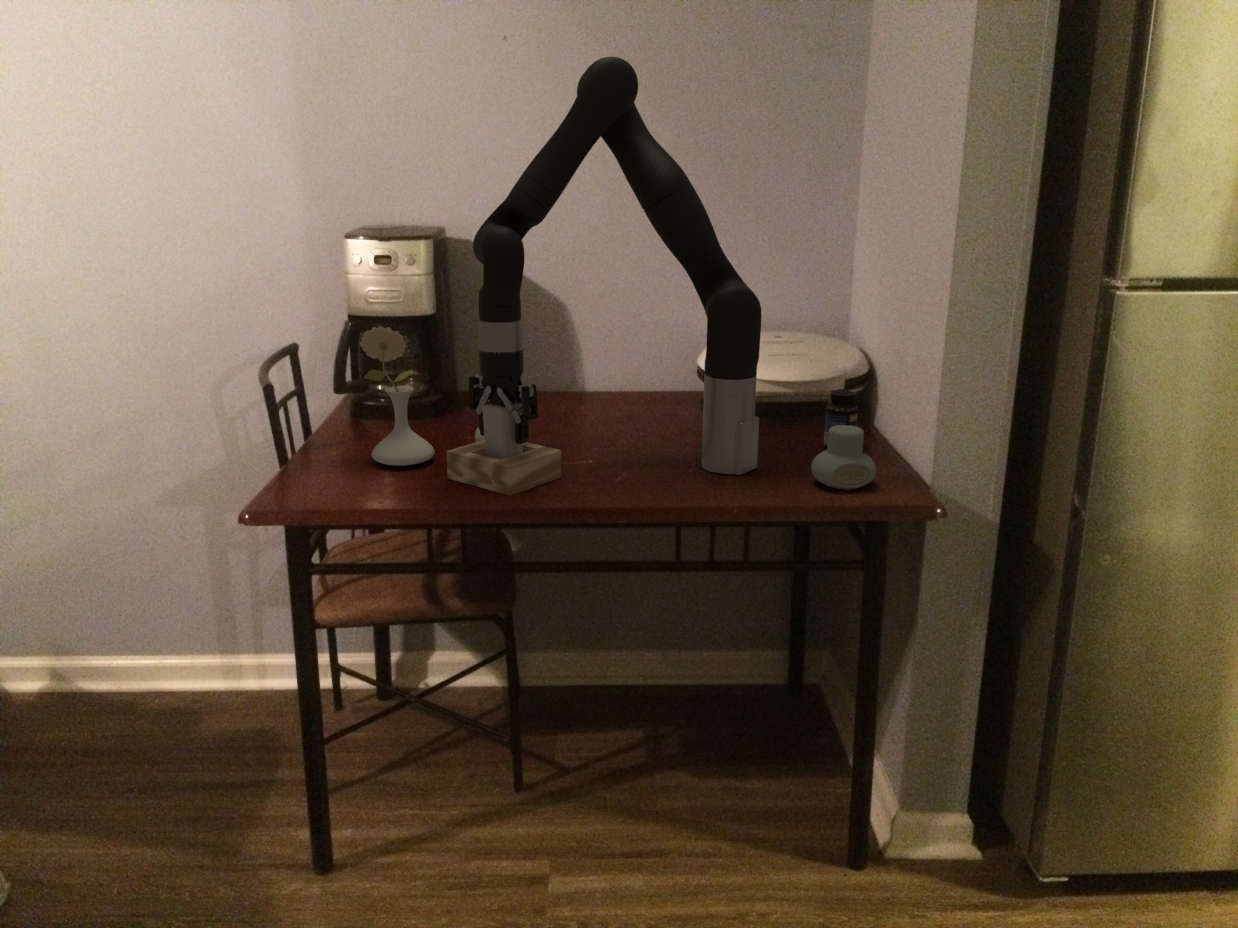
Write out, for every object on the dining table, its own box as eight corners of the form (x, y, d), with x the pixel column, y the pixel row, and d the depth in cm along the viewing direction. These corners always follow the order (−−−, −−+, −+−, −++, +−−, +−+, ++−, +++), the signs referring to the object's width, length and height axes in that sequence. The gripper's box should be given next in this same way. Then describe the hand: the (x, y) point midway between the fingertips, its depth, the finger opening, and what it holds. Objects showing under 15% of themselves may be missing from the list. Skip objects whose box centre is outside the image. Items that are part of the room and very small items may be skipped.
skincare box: (525, 473, 178) (523, 405, 175) (504, 478, 175) (502, 409, 172) (504, 465, 182) (502, 399, 179) (483, 470, 180) (481, 403, 176)
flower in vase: (445, 456, 192) (439, 323, 184) (418, 473, 181) (410, 333, 174) (382, 450, 195) (374, 320, 188) (352, 467, 185) (342, 330, 177)
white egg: (504, 446, 199) (503, 418, 197) (505, 454, 193) (504, 425, 192) (464, 447, 197) (463, 419, 196) (464, 455, 192) (463, 426, 190)
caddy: (561, 477, 179) (560, 450, 178) (509, 495, 170) (508, 467, 168) (499, 461, 188) (499, 435, 187) (447, 478, 178) (446, 451, 177)
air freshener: (863, 476, 181) (868, 422, 178) (881, 491, 173) (886, 434, 170) (804, 478, 180) (807, 424, 177) (819, 493, 172) (823, 436, 169)
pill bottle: (853, 453, 195) (857, 397, 192) (821, 450, 197) (824, 394, 194) (856, 445, 201) (861, 390, 197) (825, 442, 202) (829, 388, 199)
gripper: (547, 348, 171) (548, 441, 176) (486, 338, 179) (489, 428, 184) (516, 354, 165) (518, 450, 170) (455, 344, 174) (459, 436, 178)
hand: (503, 438), depth 177 cm, fingers open, 8 cm apart
